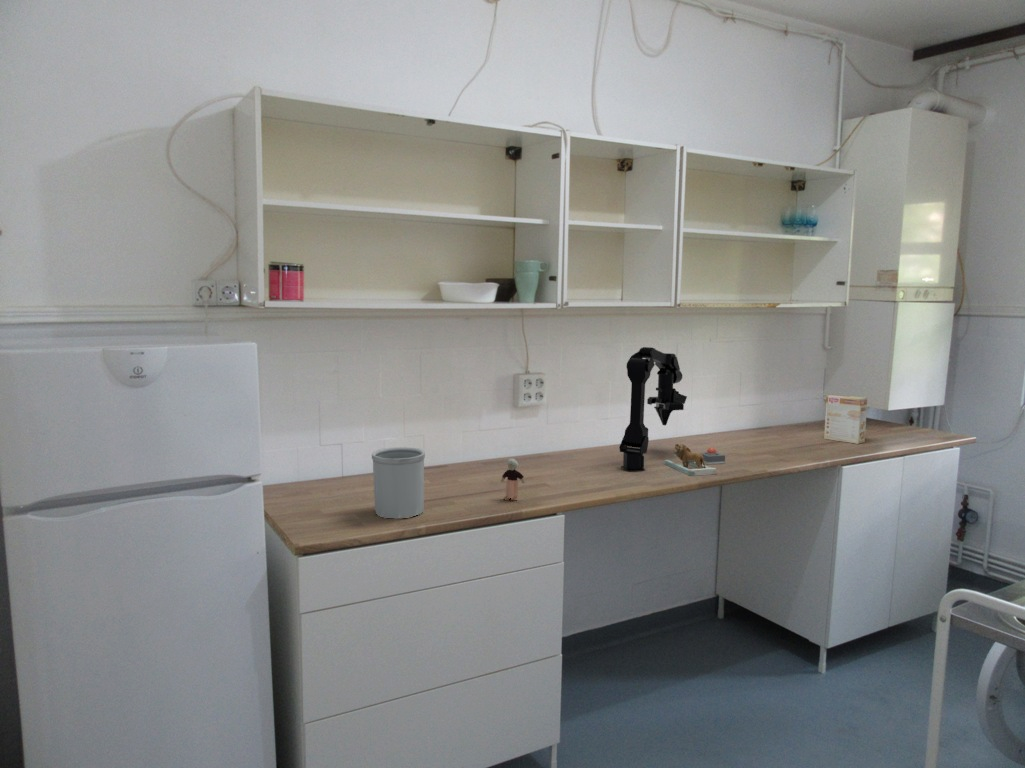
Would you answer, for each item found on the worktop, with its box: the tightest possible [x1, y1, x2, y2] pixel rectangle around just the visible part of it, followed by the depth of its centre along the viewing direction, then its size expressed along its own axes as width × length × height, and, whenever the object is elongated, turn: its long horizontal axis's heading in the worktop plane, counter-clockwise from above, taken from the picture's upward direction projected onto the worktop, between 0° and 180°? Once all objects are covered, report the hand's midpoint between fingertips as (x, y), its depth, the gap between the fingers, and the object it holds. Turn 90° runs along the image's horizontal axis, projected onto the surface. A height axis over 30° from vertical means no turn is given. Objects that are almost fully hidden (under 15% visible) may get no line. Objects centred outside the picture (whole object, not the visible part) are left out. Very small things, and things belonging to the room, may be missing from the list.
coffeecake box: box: [823, 394, 868, 445], centre depth 314 cm, size 15×7×20 cm, turn 42°
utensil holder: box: [371, 446, 426, 519], centre depth 206 cm, size 15×15×18 cm
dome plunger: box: [706, 447, 717, 455], centre depth 272 cm, size 3×3×4 cm
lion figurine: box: [672, 442, 706, 469], centre depth 259 cm, size 15×5×9 cm, turn 44°
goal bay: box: [663, 459, 717, 477], centre depth 261 cm, size 10×19×2 cm, turn 17°
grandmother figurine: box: [500, 458, 526, 501], centre depth 220 cm, size 8×4×13 cm, turn 82°
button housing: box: [699, 451, 726, 465], centre depth 273 cm, size 7×7×3 cm
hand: (664, 425), depth 282 cm, fingers closed
